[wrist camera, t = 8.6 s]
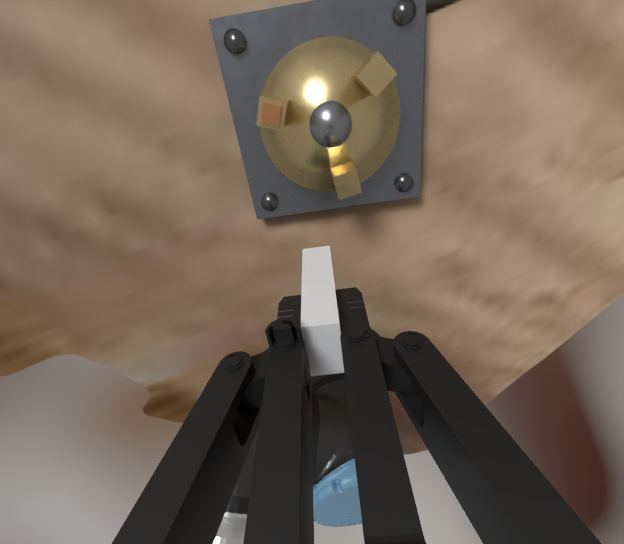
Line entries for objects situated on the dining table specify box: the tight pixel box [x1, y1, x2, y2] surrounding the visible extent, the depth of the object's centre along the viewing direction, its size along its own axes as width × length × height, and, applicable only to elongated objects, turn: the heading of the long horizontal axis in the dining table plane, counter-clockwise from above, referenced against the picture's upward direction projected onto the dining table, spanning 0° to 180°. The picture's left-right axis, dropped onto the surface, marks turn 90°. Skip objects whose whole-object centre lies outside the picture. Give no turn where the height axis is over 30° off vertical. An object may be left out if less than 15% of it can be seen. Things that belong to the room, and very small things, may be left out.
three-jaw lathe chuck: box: [256, 37, 401, 200], centre depth 32 cm, size 14×14×6 cm
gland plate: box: [209, 0, 426, 219], centre depth 36 cm, size 20×20×3 cm
